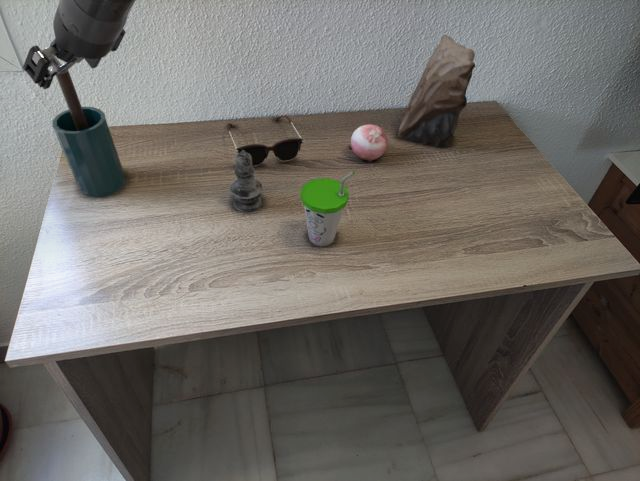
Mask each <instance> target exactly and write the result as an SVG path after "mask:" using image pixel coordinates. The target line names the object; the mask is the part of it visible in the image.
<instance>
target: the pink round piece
mask: <svg viewBox="0 0 640 481" xmlns="http://www.w3.org/2000/svg"><path fill="white" fill-rule="evenodd" d="M387 148H388V137H387V134H386V132H385V130H384V129H383V128H381V127H380V126H379V125H376V124H364V125H360V126H358V128H356V129H355V130H354V131H353V133H352V134H351V137H350V145H348V147H347V149H348V150H351V151H352V153H353V154H354V155H355V156H357V157H358V158H359V159H361V160H365V161H367V162H368V163H371V162H372V161H374V160H377V159H379V158H381V157H382V156H383V155H384V154H385V153H386V151H387Z"/></svg>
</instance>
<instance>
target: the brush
mask: <svg viewBox="0 0 640 481" xmlns="http://www.w3.org/2000/svg"><path fill="white" fill-rule="evenodd" d="M69 70H70V69H68V70H67V71H66V72H65V73H58V74H56V75H55V77H56V80H57V82H58V85H59V87H60V90H61V93H62V95H63V98H64V100H65V103H66V106H67V108H68V110H69V111H70V113H71V116H72V119H73V121H74V124H75V126H76V129H77V131H81V130H86V129H88V128H89V126H88V123H87V120H86V117H85V115H84V112H83V109H82V107H83V106H82V104H81V101H80V98H79V95H78V92H77V90H76V87H75V85H74V82H73V79H72V76H71V74H70V71H69Z"/></svg>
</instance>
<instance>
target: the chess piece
mask: <svg viewBox="0 0 640 481" xmlns="http://www.w3.org/2000/svg"><path fill="white" fill-rule="evenodd" d="M235 165H236V167H235V170H234V174H235V175H236V180H235V181H234V182H232V183H231V184H230V187H229V191H230V194H232V196H233V198H234V199H233V206H234V208H235V209H236V210H237V211H239V212H243V213H250V212H254V211H257V210H258V209H259V208H260V207H261V206H262V202H263V201H262V198H261V197H260V196H261V194H262V192H263V188H264V187H263V184H262V183H261V182H260V180H258V179H255V176H254V175H255V174H256V169H255V168H254V166H252V157H251V155H250V154H249V153H247V152H245V151H244V150H242V151H241V153H237V154H236V156H235Z"/></svg>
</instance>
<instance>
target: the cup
mask: <svg viewBox="0 0 640 481" xmlns="http://www.w3.org/2000/svg"><path fill="white" fill-rule="evenodd" d="M354 175H355V172H354V170H353V171H351V172H349V173H348V174H346V175H345V176H343V177H342V178H341V179H340V181H338V180H336V179H333V178H327V177H321V178H313V179H311V180H309V181H307V182H306V183H304V184H303V186H302V188H301V190H300V196H299V197H300V199H301V203H302V205H303V207H304V213H305V219H306V220H305V222H306V228H307V233H308V234H307V235H308V239H309V242H310V243H311V244H312V245H314V246H317V247H320V248H322V247H329V246H330V245H332V244H333V243H334V241H335V239H336V235H337V232H338V228H339V225H340V221H341V218H342V214H343V211H344V208H345V207H346V206H347V205H348V204H347V203H348V202H349V198H350V193H349V191H348V188H347V186H345V182H346V181H347V180H348V179H350V178H351V177H353V176H354Z"/></svg>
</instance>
